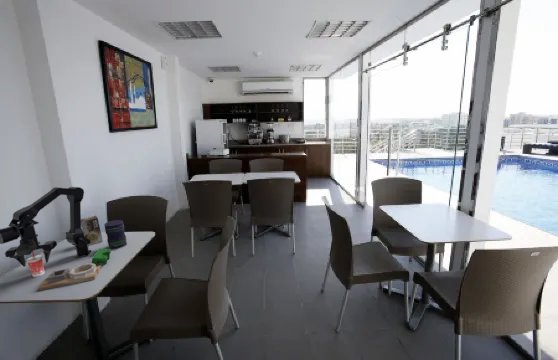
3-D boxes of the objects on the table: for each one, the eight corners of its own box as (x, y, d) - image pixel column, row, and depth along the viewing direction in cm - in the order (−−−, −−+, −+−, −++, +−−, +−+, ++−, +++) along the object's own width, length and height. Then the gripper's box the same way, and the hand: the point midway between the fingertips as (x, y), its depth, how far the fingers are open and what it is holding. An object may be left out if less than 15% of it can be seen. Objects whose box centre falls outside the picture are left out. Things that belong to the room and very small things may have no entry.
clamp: (105, 272, 145) (104, 261, 140) (92, 272, 143) (91, 260, 138) (111, 255, 154) (111, 243, 150) (99, 254, 152) (98, 243, 148)
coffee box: (101, 238, 179) (96, 215, 175) (103, 241, 174) (98, 217, 170) (84, 243, 173) (79, 219, 169) (86, 246, 168) (80, 221, 164)
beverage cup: (47, 274, 138) (40, 248, 135) (31, 279, 133) (23, 253, 130) (45, 269, 142) (39, 245, 139) (30, 274, 138) (23, 249, 135)
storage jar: (124, 240, 173) (120, 218, 170) (129, 245, 166) (125, 222, 163) (106, 246, 166) (101, 223, 163) (111, 251, 160) (106, 227, 156)
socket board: (50, 277, 134) (48, 269, 134) (101, 267, 142) (99, 260, 141) (38, 290, 123) (36, 283, 122) (94, 279, 130) (93, 271, 130)
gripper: (-7, 245, 123) (3, 276, 126) (44, 237, 129) (51, 267, 132) (7, 236, 133) (16, 265, 136) (53, 229, 139) (60, 257, 142)
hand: (36, 264), depth 137 cm, fingers open, 9 cm apart
